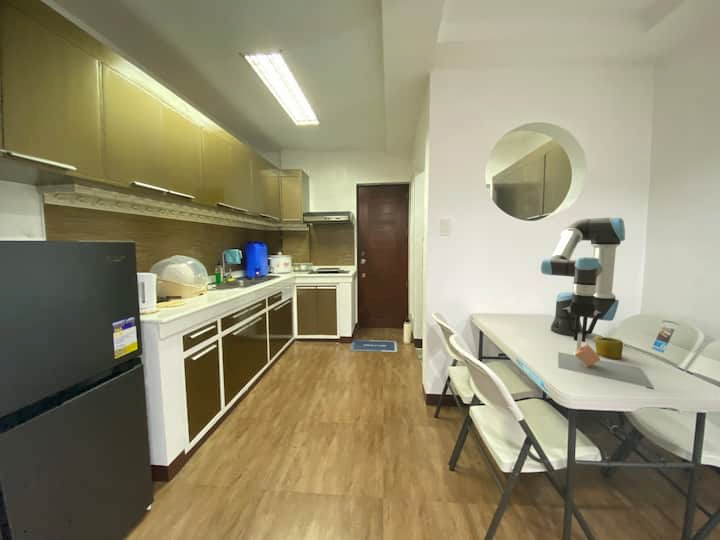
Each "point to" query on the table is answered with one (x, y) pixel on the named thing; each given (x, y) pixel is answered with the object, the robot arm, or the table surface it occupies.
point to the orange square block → (586, 355)
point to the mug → (608, 347)
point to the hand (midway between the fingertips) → (578, 348)
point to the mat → (605, 370)
